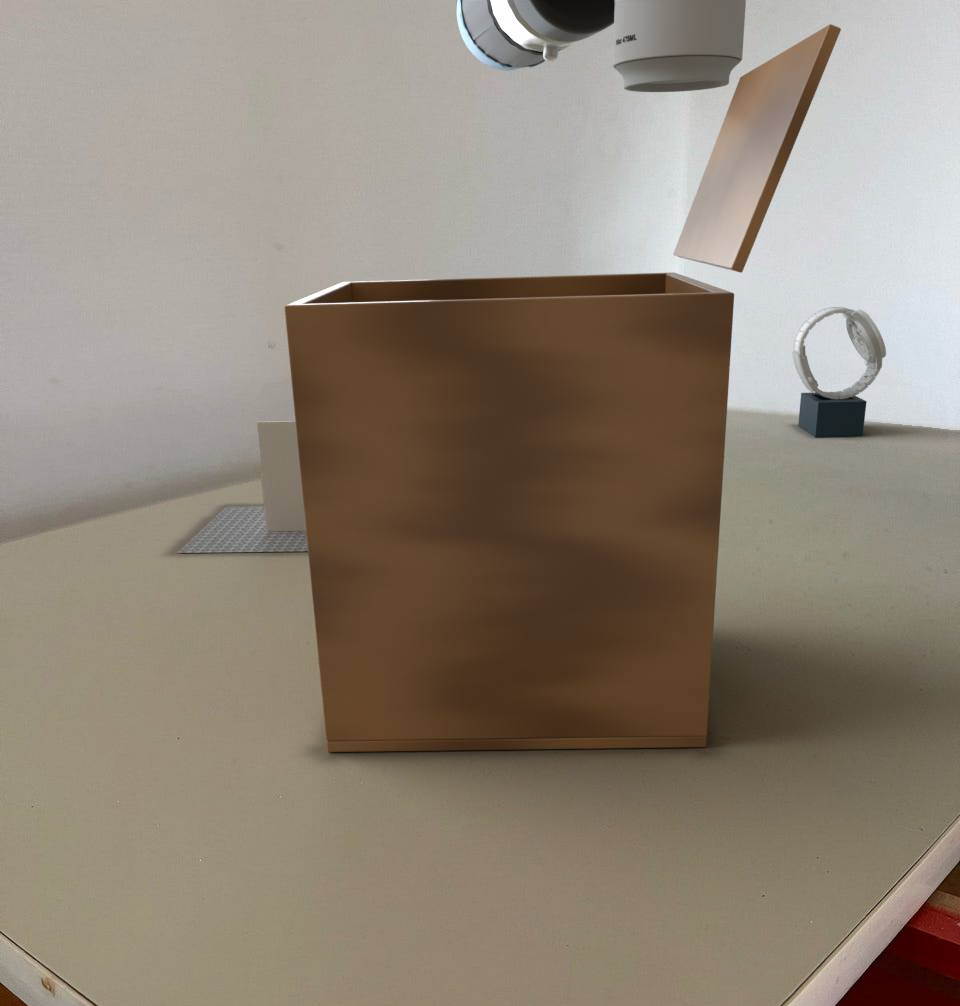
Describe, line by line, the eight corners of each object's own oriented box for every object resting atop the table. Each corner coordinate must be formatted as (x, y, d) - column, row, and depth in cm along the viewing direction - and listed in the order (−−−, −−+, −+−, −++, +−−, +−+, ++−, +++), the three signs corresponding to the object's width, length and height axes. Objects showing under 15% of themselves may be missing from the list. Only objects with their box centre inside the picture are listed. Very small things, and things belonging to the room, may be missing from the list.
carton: (660, 625, 52) (675, 272, 46) (706, 747, 40) (734, 292, 34) (368, 630, 53) (341, 281, 46) (327, 752, 41) (284, 305, 34)
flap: (672, 254, 46) (680, 257, 46) (730, 269, 34) (742, 273, 34) (740, 76, 43) (749, 80, 43) (829, 23, 31) (842, 28, 31)
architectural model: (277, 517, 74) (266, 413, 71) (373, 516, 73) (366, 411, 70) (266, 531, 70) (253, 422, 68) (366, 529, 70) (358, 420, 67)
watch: (884, 435, 94) (899, 309, 90) (795, 437, 94) (807, 311, 90) (863, 423, 99) (877, 304, 95) (779, 425, 99) (789, 306, 95)
